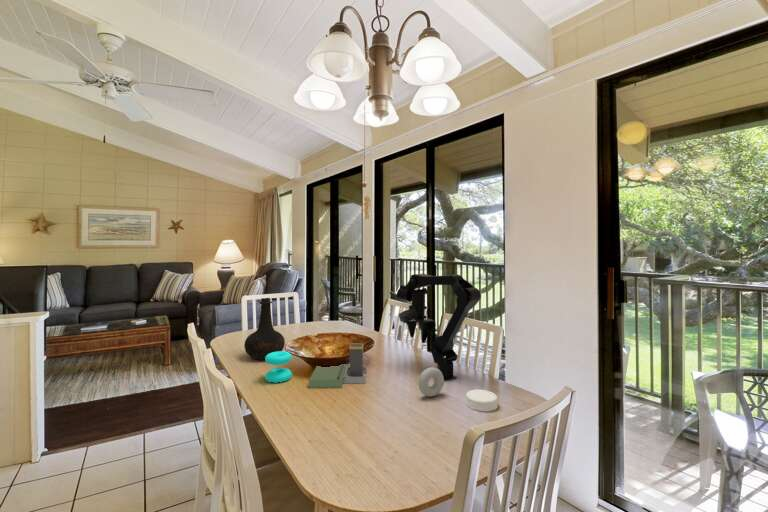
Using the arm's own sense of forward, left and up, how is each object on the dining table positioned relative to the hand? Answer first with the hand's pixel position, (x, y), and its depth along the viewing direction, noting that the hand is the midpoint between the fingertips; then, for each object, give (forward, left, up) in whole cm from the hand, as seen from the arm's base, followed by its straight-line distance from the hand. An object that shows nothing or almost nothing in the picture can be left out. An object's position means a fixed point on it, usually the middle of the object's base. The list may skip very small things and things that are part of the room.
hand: (417, 339), depth 154 cm
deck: (+4, +33, -12) cm, 36 cm away
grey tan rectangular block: (+1, +27, -12) cm, 30 cm away
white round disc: (-40, -1, -13) cm, 42 cm away
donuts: (+13, +55, -12) cm, 58 cm away
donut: (-27, +10, -12) cm, 31 cm away
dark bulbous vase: (+45, +56, -12) cm, 73 cm away
